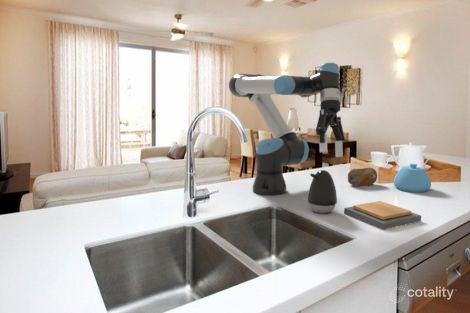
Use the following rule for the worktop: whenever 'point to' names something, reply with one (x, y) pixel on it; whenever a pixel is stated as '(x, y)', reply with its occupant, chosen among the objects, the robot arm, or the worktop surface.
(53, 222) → the worktop surface
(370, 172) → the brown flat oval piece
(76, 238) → the worktop surface
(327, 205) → the dark rounded piece
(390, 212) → the pad
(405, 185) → the sugar bowl
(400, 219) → the dock
